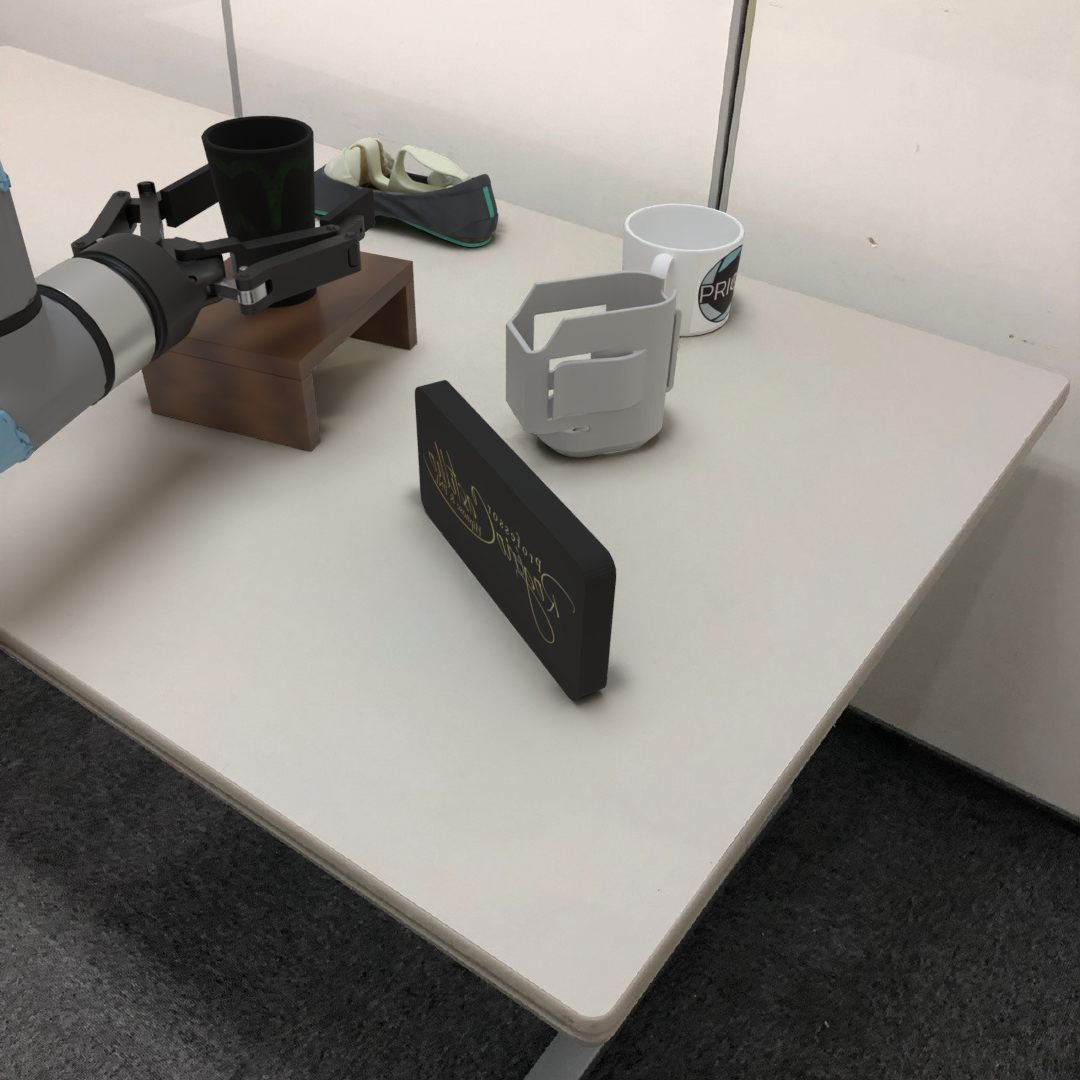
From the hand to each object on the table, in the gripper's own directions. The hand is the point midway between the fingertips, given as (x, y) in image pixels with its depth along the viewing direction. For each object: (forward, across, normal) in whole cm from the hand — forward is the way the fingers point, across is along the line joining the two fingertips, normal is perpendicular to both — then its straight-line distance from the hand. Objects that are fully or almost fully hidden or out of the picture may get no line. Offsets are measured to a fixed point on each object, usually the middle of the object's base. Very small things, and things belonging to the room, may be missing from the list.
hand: (293, 192), depth 80 cm
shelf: (-4, 0, -14) cm, 14 cm away
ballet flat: (+28, -7, -14) cm, 32 cm away
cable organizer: (-4, +25, -14) cm, 29 cm away
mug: (+18, +26, -14) cm, 35 cm away
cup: (-4, 0, -7) cm, 8 cm away
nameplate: (-22, +26, -14) cm, 37 cm away
